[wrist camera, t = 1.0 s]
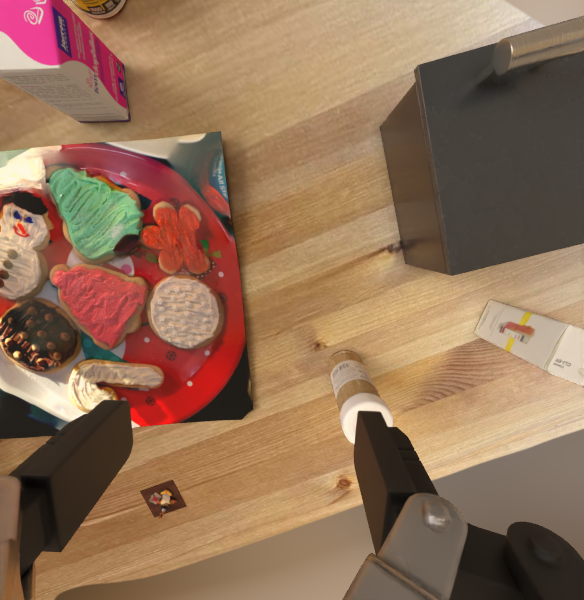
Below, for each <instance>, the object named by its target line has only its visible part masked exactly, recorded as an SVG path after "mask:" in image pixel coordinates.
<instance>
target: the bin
mask: <svg viewBox="0 0 584 600" xmlns="http://www.w3.org/2000/svg"><path fill="white" fill-rule="evenodd" d="M380 131H381V136H382V142H383V147H384V152H385V158H386V163H387V168H388V174H389V179H390V184H391V190H392V195H393V201H394V206H395V211H396V217H397V222H398V227H399V233H400V238H401V243H402V249H403V254H404V260H405V264H409V265H412V266H416V267H420V268H424V269H428V270H432V271H435V272H439V273H443V274H447V269H446V263H445V257H444V251H443V245H442V238H441V232H440V226H439V220H438V214H437V208H436V202H435V195H434V189H433V183H432V177H431V171H430V165H429V158H428V152H427V146H426V140H425V134H424V128H423V121H422V115H421V109H420V103H419V97H418V91H417V84H416V82H415V83H414V85H413V86H412V87H411V88H410V90H409V91H408V92H407V93H406V95H405V96H404V97H403V98H402V100H401V101H400V102H399V103H398V105H397V106H396V107H395V109H394V110H393V111H392V112H391V114H390V115H389V116H388V117H387V119H386V120H385V121H384V122H383V124H382V125H381V126H380Z"/></svg>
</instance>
